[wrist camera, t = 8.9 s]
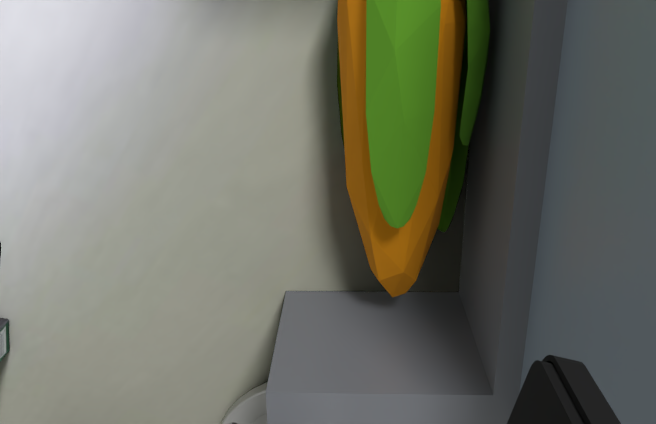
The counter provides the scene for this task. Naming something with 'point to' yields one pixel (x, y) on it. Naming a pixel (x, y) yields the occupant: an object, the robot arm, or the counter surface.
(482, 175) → the grey bridge shelf
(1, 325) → the coffee box
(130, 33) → the counter surface
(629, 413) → the cover
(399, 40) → the corn
